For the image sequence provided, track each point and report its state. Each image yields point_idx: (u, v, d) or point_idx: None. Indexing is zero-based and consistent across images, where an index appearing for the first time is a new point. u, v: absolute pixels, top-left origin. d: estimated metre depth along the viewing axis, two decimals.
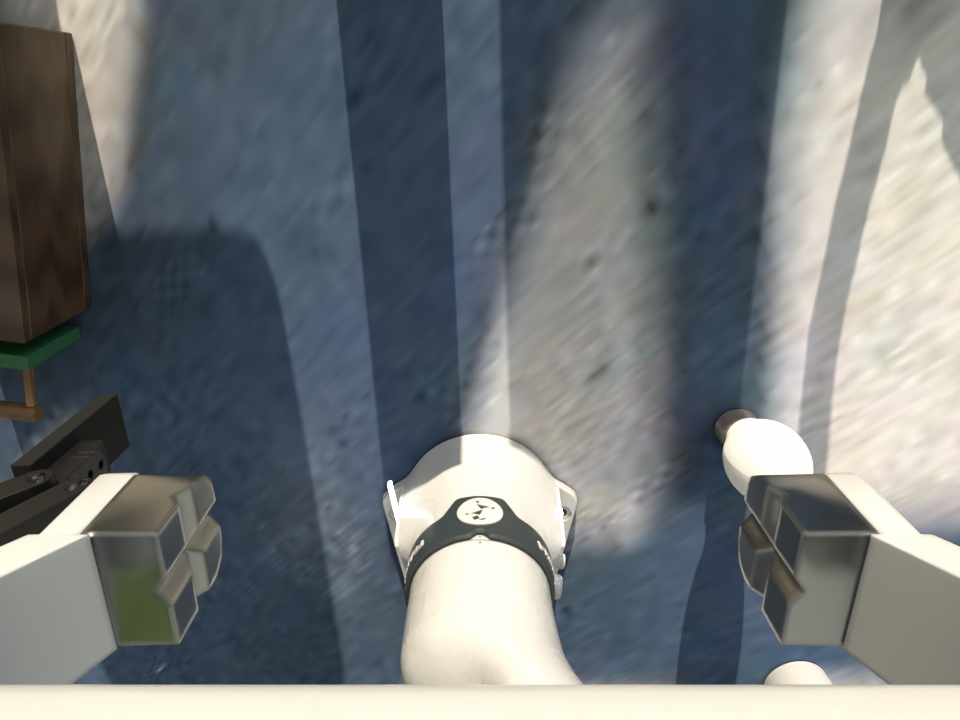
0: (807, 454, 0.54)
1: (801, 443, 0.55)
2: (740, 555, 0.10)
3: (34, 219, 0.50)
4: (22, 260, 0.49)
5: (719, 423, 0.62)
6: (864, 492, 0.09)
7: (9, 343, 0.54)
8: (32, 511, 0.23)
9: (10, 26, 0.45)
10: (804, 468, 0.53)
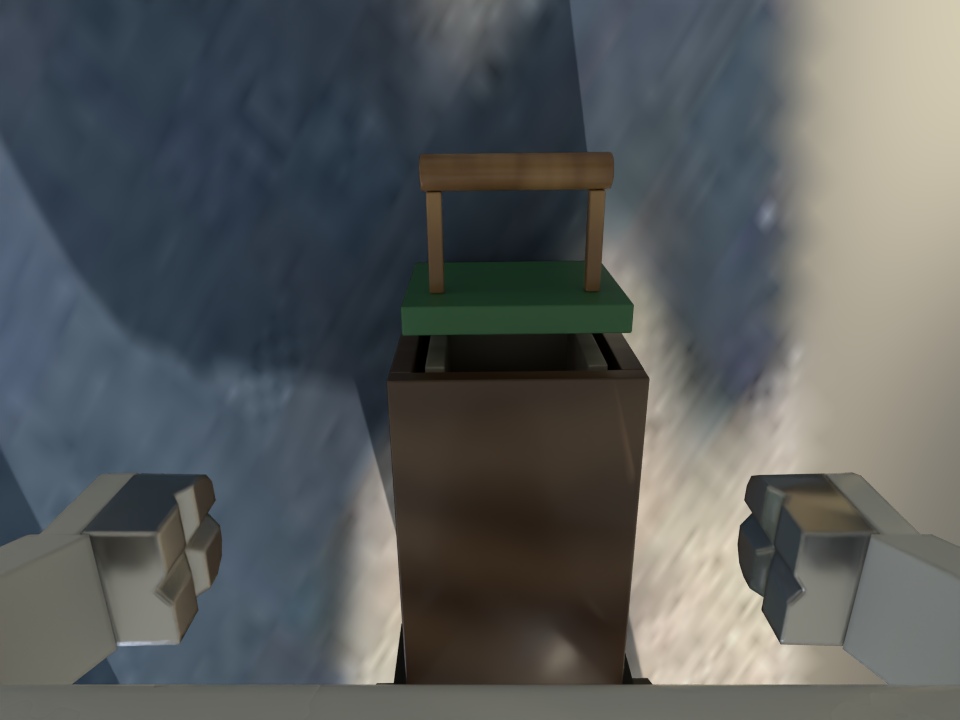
0: None
1: None
2: (739, 554, 0.10)
3: None
4: None
5: None
6: (864, 492, 0.09)
7: None
8: None
9: None
10: None
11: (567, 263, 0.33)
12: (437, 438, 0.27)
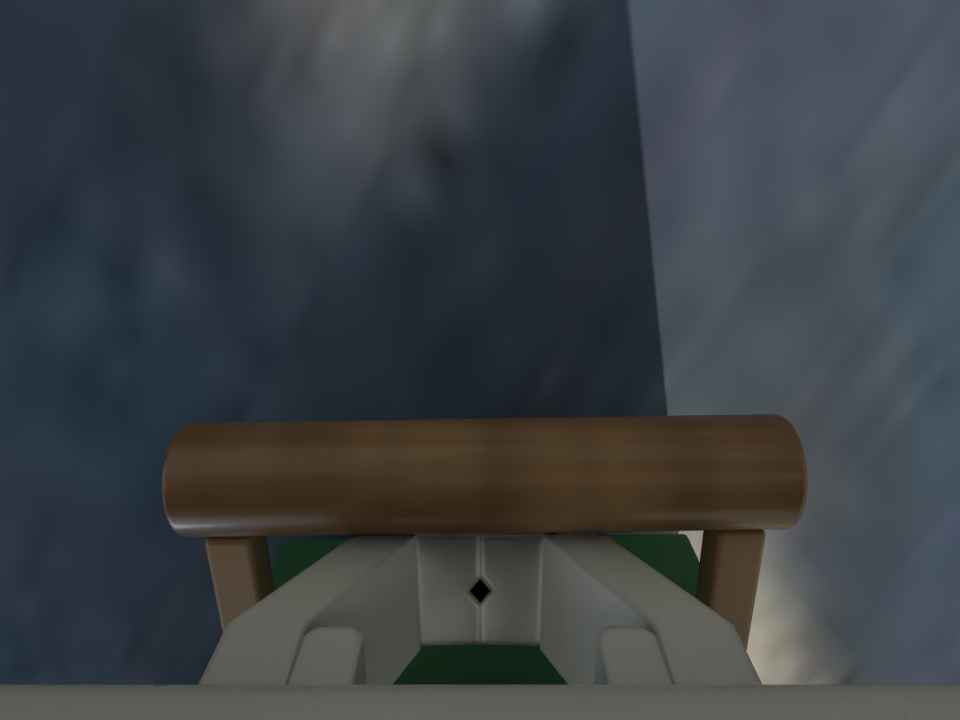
0: None
1: None
2: None
3: None
4: None
5: None
6: None
7: None
8: None
9: None
10: None
11: None
12: None
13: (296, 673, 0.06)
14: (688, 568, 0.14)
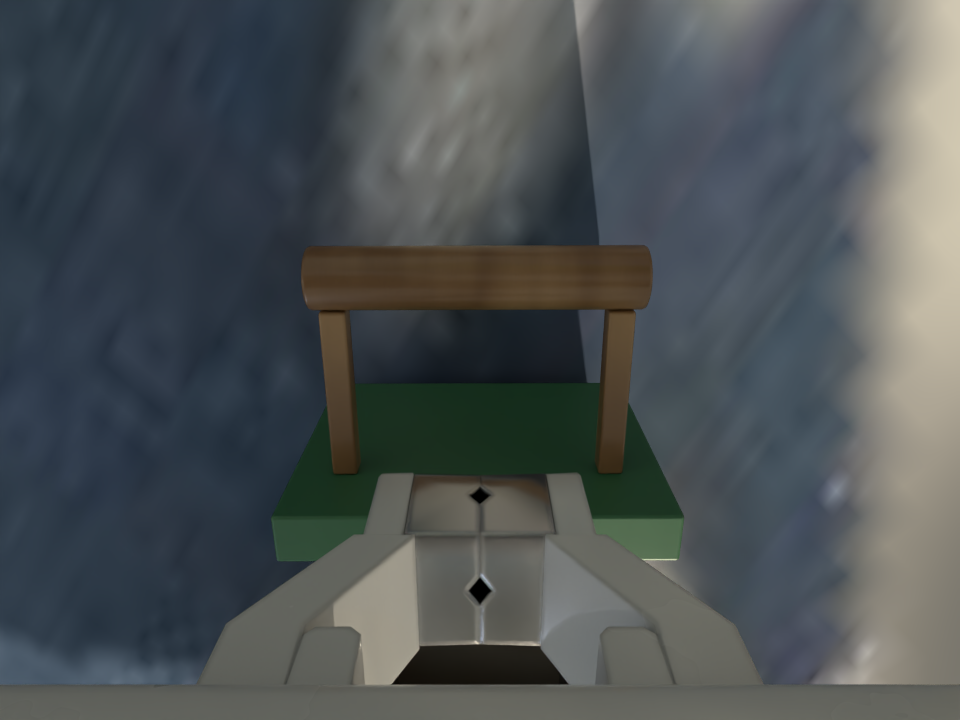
0: None
1: None
2: None
3: None
4: None
5: None
6: (570, 492, 0.09)
7: None
8: None
9: None
10: None
11: (568, 389, 0.21)
12: None
13: (294, 673, 0.06)
14: None
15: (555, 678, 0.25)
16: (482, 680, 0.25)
